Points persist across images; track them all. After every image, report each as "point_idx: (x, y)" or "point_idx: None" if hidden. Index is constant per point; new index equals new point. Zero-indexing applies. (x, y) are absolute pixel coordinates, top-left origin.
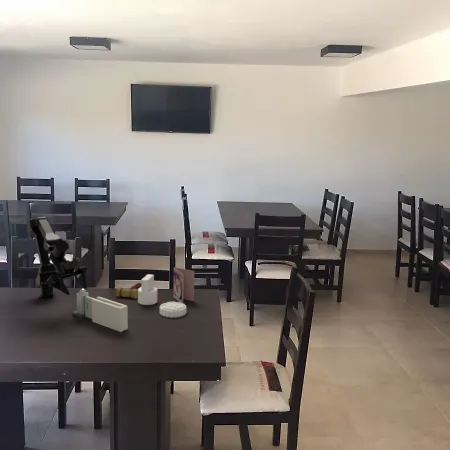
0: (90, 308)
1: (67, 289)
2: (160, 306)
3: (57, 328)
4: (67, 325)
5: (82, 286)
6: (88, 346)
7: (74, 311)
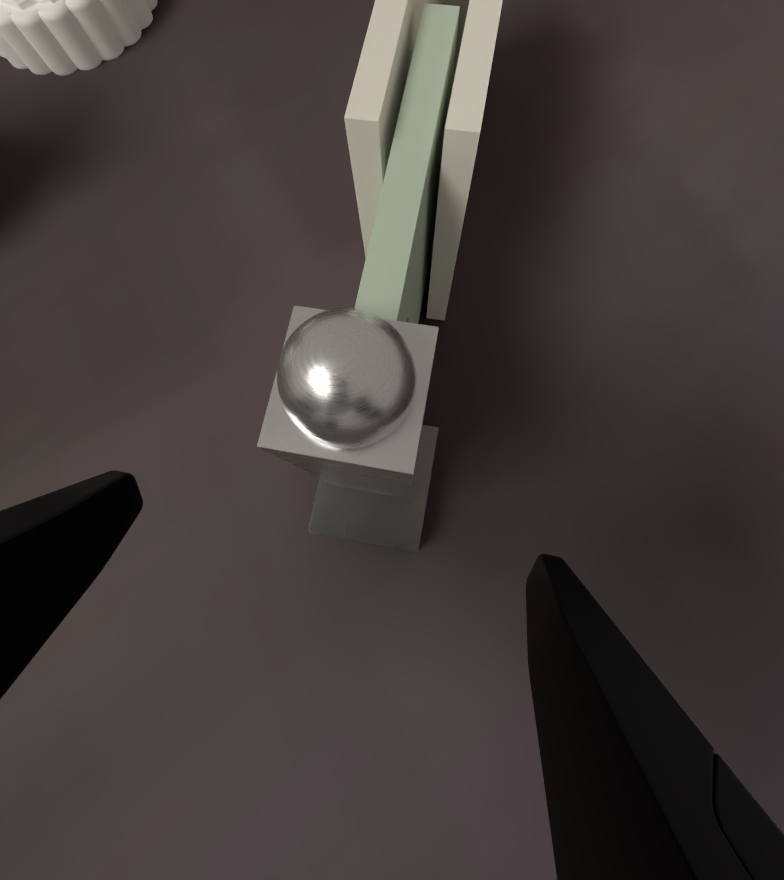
0: (412, 309)
1: (584, 641)
2: (62, 4)
3: (703, 461)
4: (610, 433)
5: (70, 592)
6: (765, 104)
7: (399, 543)
